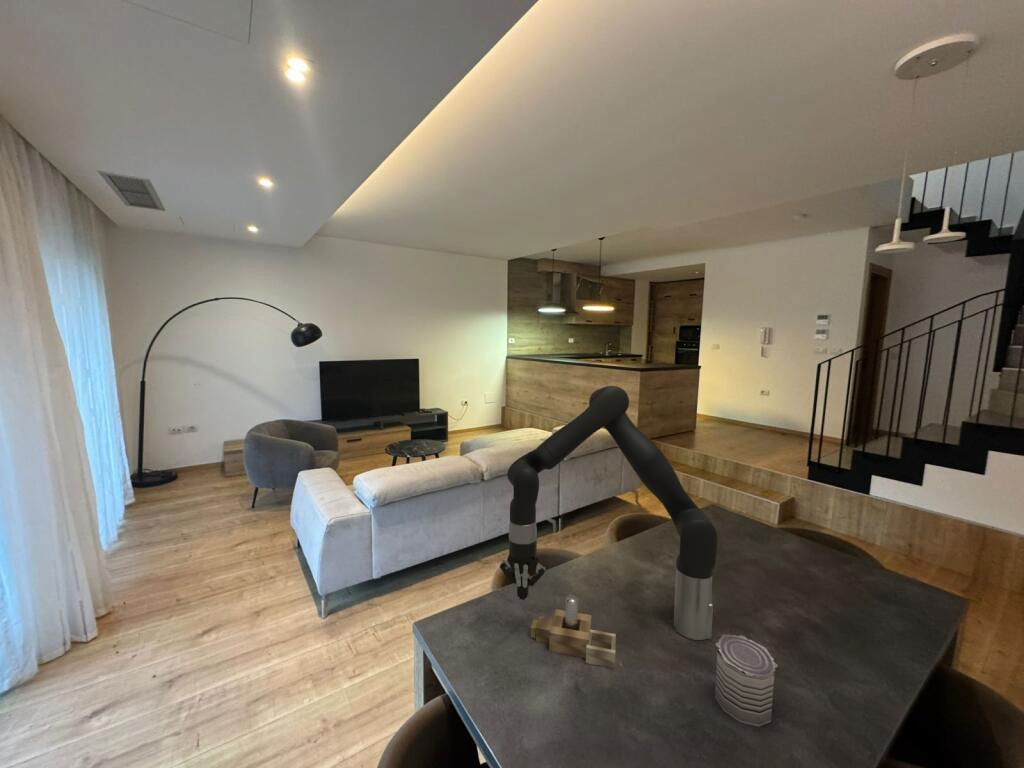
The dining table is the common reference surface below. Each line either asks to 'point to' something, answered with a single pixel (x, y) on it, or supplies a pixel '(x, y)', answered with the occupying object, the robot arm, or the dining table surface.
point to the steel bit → (571, 612)
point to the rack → (601, 649)
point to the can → (744, 679)
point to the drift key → (534, 628)
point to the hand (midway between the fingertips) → (522, 597)
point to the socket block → (564, 634)
